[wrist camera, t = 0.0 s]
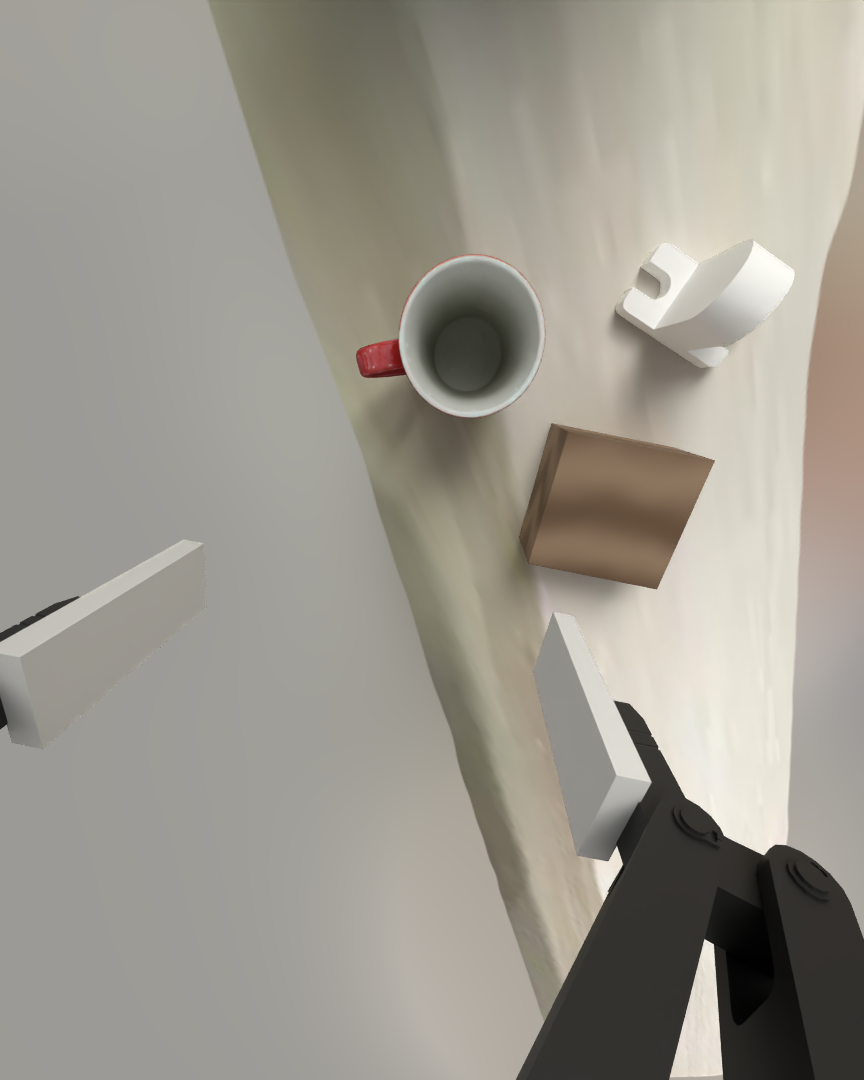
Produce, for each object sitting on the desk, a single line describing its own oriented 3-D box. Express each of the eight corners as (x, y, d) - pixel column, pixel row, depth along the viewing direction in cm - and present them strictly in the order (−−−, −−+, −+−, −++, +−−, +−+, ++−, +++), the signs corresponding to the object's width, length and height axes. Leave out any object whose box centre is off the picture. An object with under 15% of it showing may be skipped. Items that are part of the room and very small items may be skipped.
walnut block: (551, 423, 39) (568, 431, 32) (673, 447, 39) (714, 460, 32) (518, 536, 43) (528, 563, 37) (628, 558, 43) (656, 589, 37)
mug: (517, 292, 35) (546, 242, 23) (519, 402, 38) (545, 411, 26) (375, 310, 36) (328, 272, 24) (388, 414, 40) (353, 429, 27)
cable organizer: (702, 370, 36) (784, 366, 27) (612, 310, 35) (665, 284, 26) (746, 312, 34) (851, 286, 25) (653, 246, 33) (727, 193, 24)
